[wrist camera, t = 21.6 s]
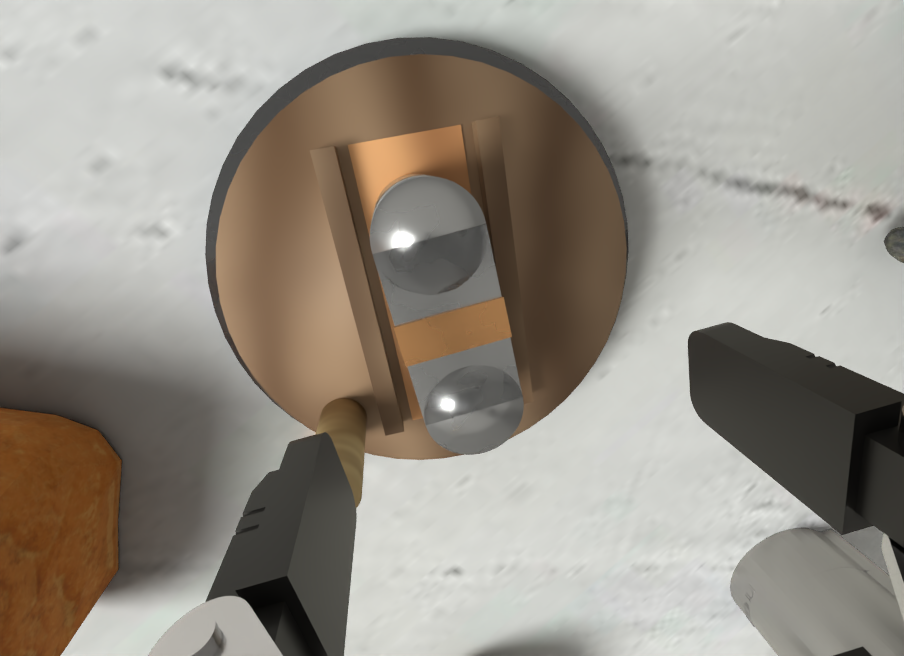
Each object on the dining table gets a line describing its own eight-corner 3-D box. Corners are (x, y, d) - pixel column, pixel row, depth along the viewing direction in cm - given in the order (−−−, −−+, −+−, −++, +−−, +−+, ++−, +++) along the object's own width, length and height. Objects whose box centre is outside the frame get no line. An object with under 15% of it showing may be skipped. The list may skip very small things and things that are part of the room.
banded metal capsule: (449, 163, 20) (475, 162, 15) (498, 375, 24) (533, 439, 19) (360, 186, 20) (351, 194, 14) (424, 396, 24) (437, 468, 18)
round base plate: (588, -5, 22) (605, -20, 20) (632, 385, 30) (647, 399, 28) (134, 111, 21) (112, 106, 19) (306, 483, 29) (301, 503, 27)
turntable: (603, 28, 21) (714, -42, 14) (619, 402, 28) (698, 481, 21) (158, 103, 19) (30, 67, 12) (295, 478, 26) (263, 590, 19)
